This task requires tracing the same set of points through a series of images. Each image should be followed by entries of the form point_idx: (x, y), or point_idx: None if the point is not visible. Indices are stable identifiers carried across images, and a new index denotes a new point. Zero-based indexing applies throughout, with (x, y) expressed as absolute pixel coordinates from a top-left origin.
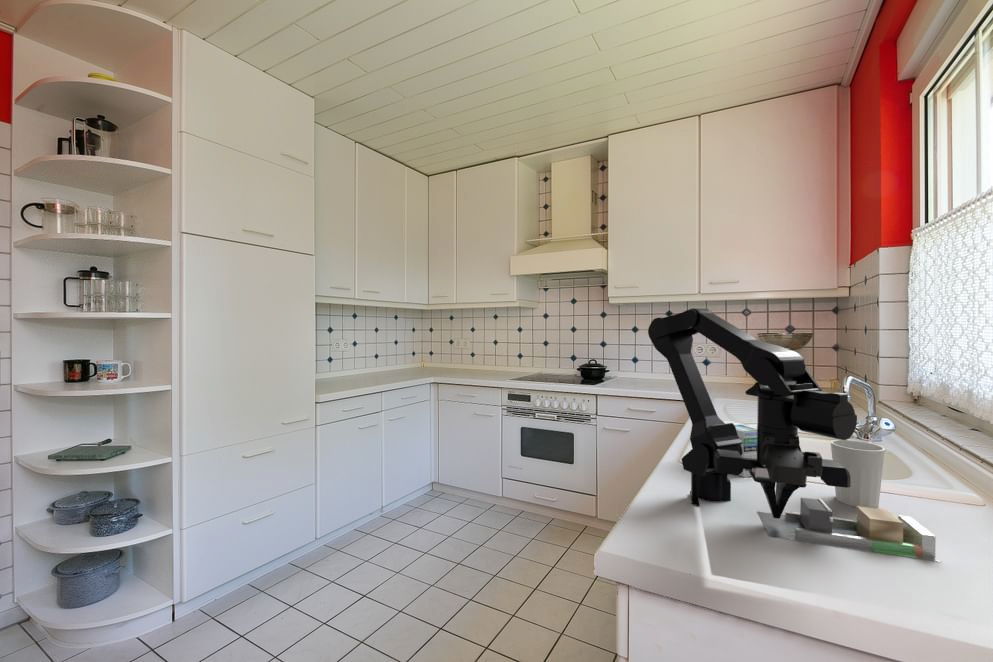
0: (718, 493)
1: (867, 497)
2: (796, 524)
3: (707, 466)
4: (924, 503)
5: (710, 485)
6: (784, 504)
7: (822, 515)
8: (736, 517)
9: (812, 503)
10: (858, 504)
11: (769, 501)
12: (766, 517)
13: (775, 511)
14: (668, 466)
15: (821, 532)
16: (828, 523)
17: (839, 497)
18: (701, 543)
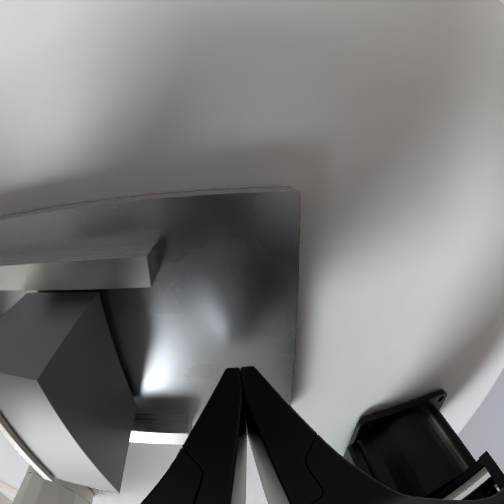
0: (399, 449)
1: (28, 490)
2: (151, 383)
3: (499, 481)
4: (9, 479)
5: (434, 454)
6: (201, 431)
7: (2, 351)
8: (353, 385)
9: (53, 449)
10: (45, 481)
11: (307, 425)
12: None
13: (252, 388)
14: None
15: (41, 273)
16: (4, 325)
17: (79, 501)
18: (488, 120)
